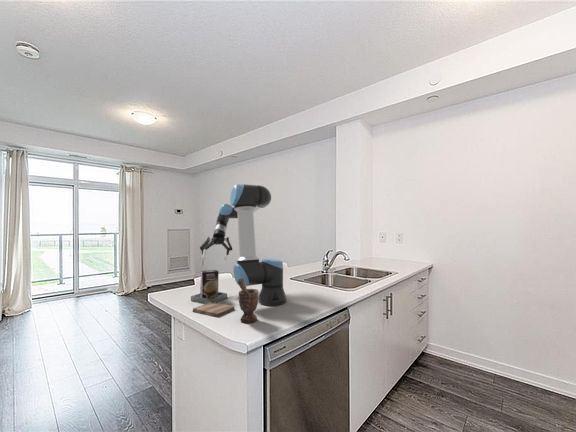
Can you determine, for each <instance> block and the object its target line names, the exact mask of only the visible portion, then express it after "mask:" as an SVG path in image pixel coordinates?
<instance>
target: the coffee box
mask: <svg viewBox="0 0 576 432" xmlns="http://www.w3.org/2000/svg"><path fill="white" fill-rule="evenodd" d="M199 285H200V286H199V287H200V293H199V294H200V297H201V298H207V299H211V298H214V297H217V296H218V292H219V270H218V269H209V270H206V269H205V270H200V284H199Z"/></svg>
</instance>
